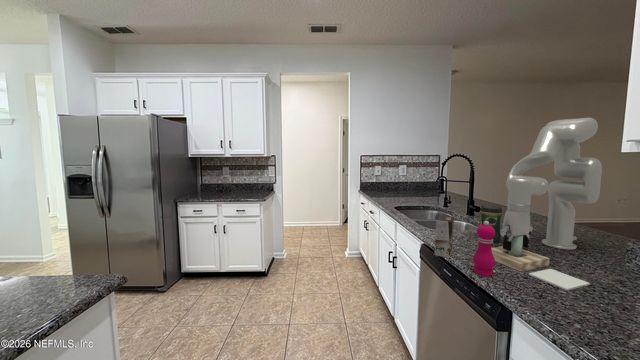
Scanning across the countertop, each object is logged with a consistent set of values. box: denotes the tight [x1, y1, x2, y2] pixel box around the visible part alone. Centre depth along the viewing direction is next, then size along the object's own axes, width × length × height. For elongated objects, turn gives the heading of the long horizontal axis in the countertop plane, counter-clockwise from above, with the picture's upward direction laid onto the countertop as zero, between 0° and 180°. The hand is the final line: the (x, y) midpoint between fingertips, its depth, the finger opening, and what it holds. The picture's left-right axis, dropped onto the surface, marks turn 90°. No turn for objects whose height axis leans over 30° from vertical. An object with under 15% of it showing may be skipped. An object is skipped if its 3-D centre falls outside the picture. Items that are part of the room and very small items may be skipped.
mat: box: [528, 268, 591, 292], centre depth 96 cm, size 12×12×1 cm
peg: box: [508, 235, 523, 258], centre depth 112 cm, size 4×4×11 cm
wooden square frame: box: [491, 245, 550, 272], centre depth 112 cm, size 16×16×3 cm
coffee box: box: [434, 215, 455, 259], centre depth 120 cm, size 9×6×16 cm
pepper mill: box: [472, 221, 496, 277], centre depth 101 cm, size 7×7×20 cm
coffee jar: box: [479, 203, 503, 243], centre depth 137 cm, size 10×8×19 cm
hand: (515, 248), depth 112 cm, fingers open, 9 cm apart
